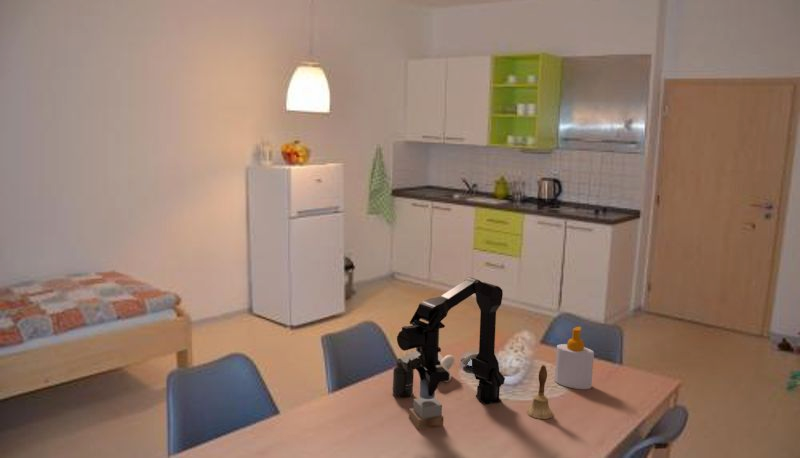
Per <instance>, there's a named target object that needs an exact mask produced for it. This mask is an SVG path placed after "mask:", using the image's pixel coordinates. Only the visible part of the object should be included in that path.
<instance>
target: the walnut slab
mask: <svg viewBox="0 0 800 458" xmlns="http://www.w3.org/2000/svg"><path fill="white" fill-rule="evenodd" d="M408 419H409V420H410V421H411V422H412V424H413V425H414V426H415V427H416V429H417V430H418V431H421V430H427V429H434V428H441V427H444V415H443V414H442V416H437V417H431V418H425V419H422V418H421V417H420V416H419V415H418V414H417V413H416V412H415V411H414V410H413V407H411V408H409V409H408Z"/></svg>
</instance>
